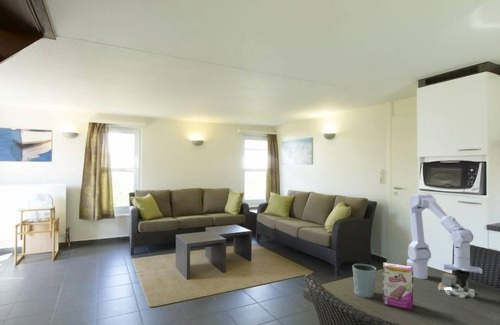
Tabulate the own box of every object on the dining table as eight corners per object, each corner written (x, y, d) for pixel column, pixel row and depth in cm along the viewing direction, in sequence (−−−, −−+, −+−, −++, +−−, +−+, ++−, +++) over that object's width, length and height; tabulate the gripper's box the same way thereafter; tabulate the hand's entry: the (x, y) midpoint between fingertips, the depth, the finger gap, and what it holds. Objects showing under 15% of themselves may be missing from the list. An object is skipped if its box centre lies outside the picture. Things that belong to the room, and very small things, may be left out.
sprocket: (465, 300, 121) (465, 287, 121) (431, 288, 133) (431, 276, 133) (481, 294, 127) (481, 281, 127) (448, 283, 139) (448, 271, 140)
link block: (451, 287, 130) (451, 277, 130) (441, 284, 134) (441, 274, 134) (455, 285, 132) (455, 275, 132) (446, 282, 136) (446, 273, 136)
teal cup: (348, 293, 129) (348, 267, 129) (357, 287, 137) (357, 261, 137) (371, 300, 122) (371, 272, 123) (379, 293, 130) (379, 266, 130)
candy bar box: (382, 305, 118) (382, 265, 119) (382, 300, 123) (382, 262, 123) (413, 310, 114) (413, 269, 114) (412, 305, 118) (412, 265, 119)
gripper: (446, 257, 125) (446, 288, 125) (485, 261, 121) (485, 293, 120) (440, 253, 131) (440, 282, 131) (477, 256, 127) (477, 286, 127)
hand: (461, 287), depth 126 cm, fingers closed
